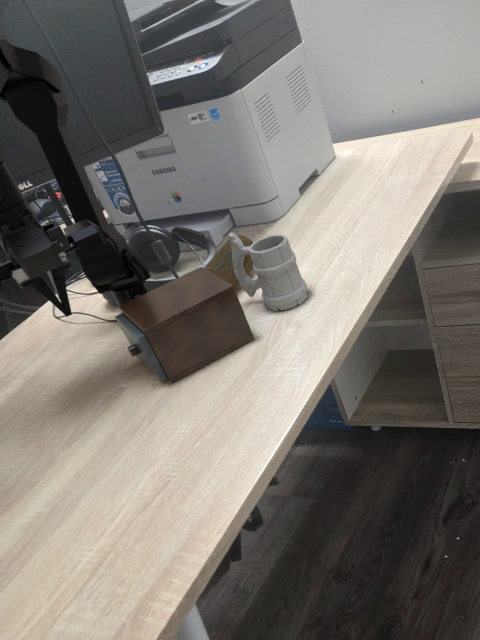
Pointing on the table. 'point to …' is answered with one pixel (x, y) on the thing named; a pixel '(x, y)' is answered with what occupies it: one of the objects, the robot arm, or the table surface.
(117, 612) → the table surface
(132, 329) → the drawer
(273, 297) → the mug
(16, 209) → the robot arm
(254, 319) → the table surface
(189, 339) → the cabinet
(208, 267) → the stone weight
